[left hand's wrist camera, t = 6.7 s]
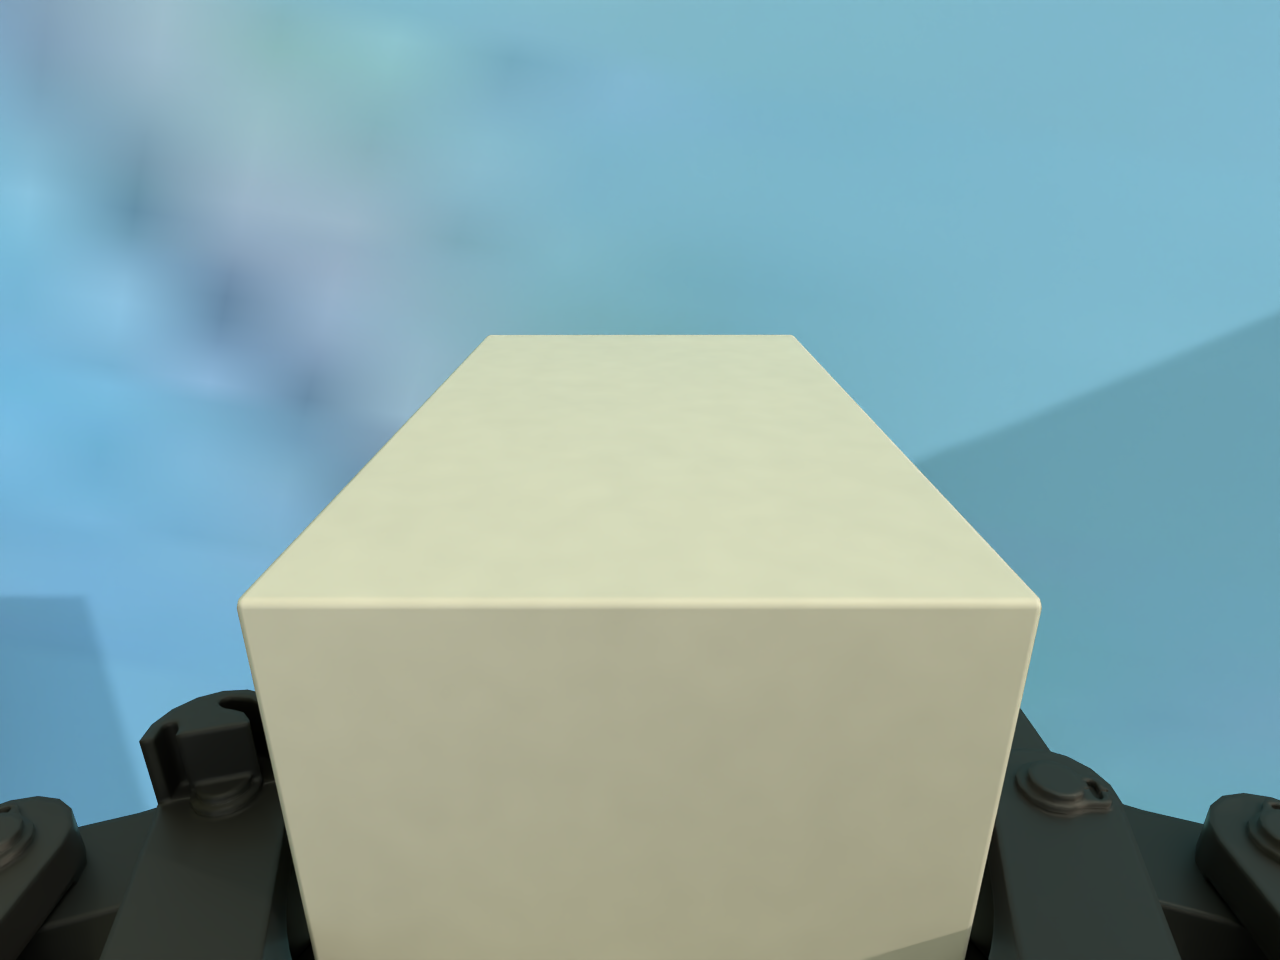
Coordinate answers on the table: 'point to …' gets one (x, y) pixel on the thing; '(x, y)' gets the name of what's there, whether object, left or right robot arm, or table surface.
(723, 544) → the bar
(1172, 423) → the table surface
